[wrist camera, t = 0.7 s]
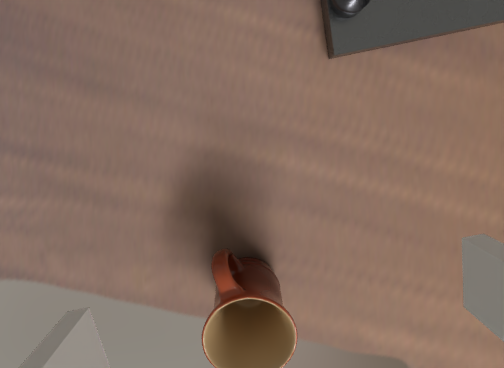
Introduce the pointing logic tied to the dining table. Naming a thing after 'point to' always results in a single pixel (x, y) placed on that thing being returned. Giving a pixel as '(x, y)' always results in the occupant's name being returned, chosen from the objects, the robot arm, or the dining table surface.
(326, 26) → the console board
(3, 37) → the dining table surface
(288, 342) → the mug
